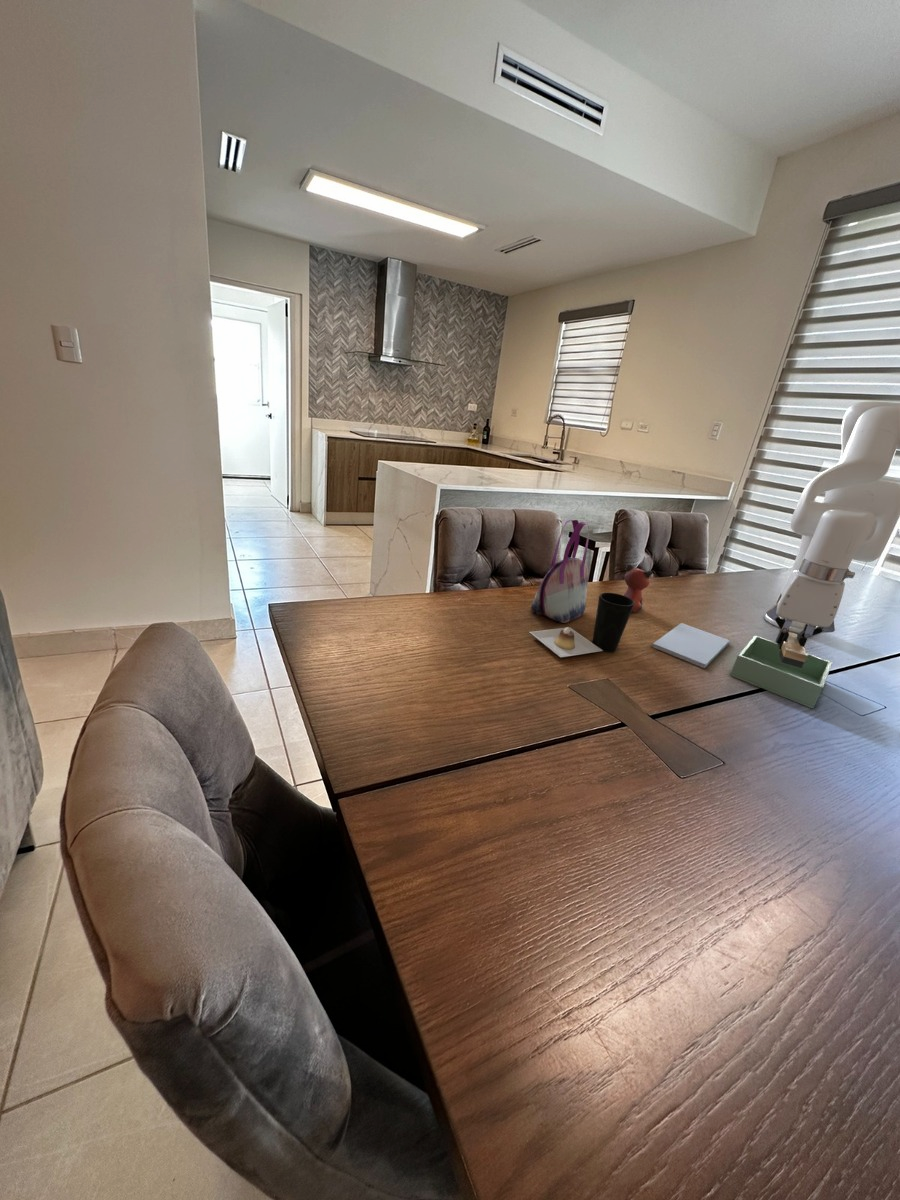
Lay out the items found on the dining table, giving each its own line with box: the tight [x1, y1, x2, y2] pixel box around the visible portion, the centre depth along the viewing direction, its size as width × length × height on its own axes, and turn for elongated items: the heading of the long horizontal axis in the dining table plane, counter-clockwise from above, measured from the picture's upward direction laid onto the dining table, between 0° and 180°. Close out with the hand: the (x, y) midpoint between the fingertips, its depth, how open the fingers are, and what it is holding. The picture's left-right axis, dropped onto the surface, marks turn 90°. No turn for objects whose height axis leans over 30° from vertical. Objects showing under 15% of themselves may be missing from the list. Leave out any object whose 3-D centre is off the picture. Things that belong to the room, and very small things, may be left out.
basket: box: [729, 635, 833, 709], centre depth 104 cm, size 16×15×5 cm
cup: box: [592, 592, 635, 653], centre depth 108 cm, size 8×8×12 cm
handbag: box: [531, 519, 590, 624], centre depth 120 cm, size 21×10×25 cm, turn 135°
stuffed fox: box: [623, 563, 654, 613], centre depth 131 cm, size 8×11×12 cm
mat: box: [651, 622, 731, 669], centre depth 116 cm, size 20×12×1 cm, turn 137°
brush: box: [779, 631, 808, 668], centre depth 102 cm, size 12×4×3 cm, turn 152°
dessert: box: [529, 626, 604, 658], centre depth 107 cm, size 12×12×5 cm
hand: (787, 648), depth 104 cm, fingers closed on brush, 2 cm apart
